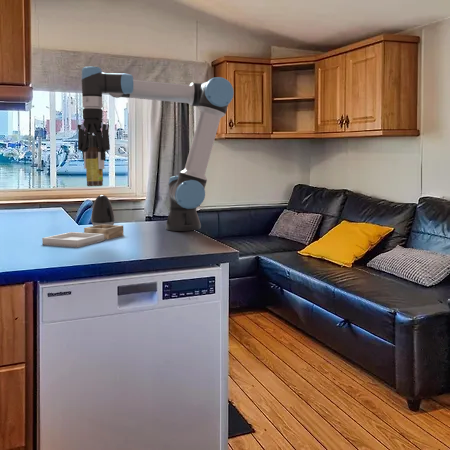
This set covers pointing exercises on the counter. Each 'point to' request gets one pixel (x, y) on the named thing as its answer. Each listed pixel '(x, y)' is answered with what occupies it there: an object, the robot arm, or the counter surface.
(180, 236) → the counter surface
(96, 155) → the sauce bottle
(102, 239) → the grey tray
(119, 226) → the oak holder
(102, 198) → the black bullet shaped dome
